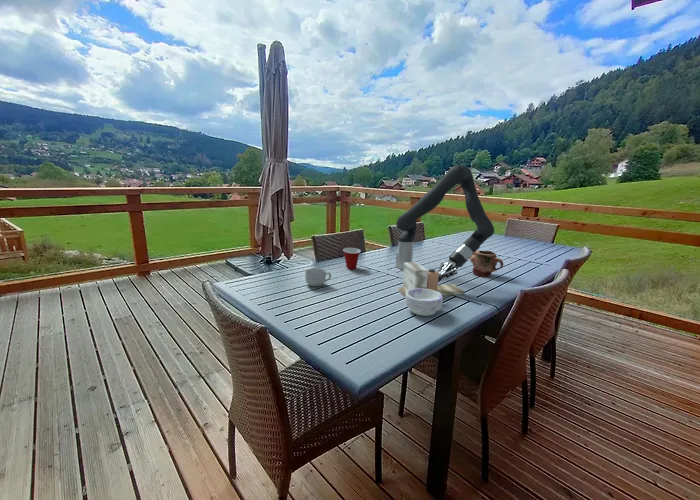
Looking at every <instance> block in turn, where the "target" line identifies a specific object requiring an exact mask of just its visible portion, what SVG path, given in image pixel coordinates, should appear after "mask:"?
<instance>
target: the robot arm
mask: <svg viewBox="0 0 700 500" xmlns="http://www.w3.org/2000/svg"><path fill="white" fill-rule="evenodd" d="M457 185H459V186H460V188H461V189H462V191H463V194H464V198H465V199H464V200H465V207H466V210H467V213H468V215H469V217H470V220H471V221H472V222H473V223H474V224H475V225H476V227H477V228H476V229H475V230H474V231H473V233H472V234H471V235H470V236H469V237H468V238H467V239H466V240H465V241H463V243H462V244H460V245H459V246H458V247H457V248H456V249H455V250H454V251H453V252H452V253H451V254H450V255H449V256H448V260H447V261H446V262H445V263H444V262H440V265H439V268H438V273H439V277H438V283H440V282H441V281H442V280H443V279H444V278H448V279H449V278H450V277H453V276H455V275H457V274H458V271H457V270H458V269H459V268H462V267H463V266H464V265H465V264H466V263H467V262H468V261H469V260H470V258H471V256H472V255H473V254H474V253H475V252H476V251H478V250H480V247H481V245H482V244H484V243H485V242H486V241H487V240H488V239H490V238H491V237H492V236H493V235H494V234H495V228H494V225H493V223H492V221H491V219H490V218H489V217H488V216H487V215H486V212H485V210H484V207H483V205H482V203H481V200H480V197H479V195H478V192H477V189H476V188H477V187H476V185H475V181H474V176H473V173H472V170H471V169H470V167H468V166H466V165H462V164H461V165H460V164H457V165H454V166H452V167H451V168H449V169H448V170H447V172H446V173H445V174H444V176H442V178H441V179H440V180H439V181H438V182H437V183H436V184H435V185H433V186H432V187H431V189H430V190H428V191H427V192H426V193H424V195H423V196H422V197H421V198H420V199H419V200H418V201H416V202H415V203H414V204H413V205H412V206H411V207H409V209H408V210H407V211H405V212H404V213H403V214H401V215H400V216H398V218H397V220H396V228H397V229H398V230H399V231H402V233H400V235H399V236H398V241H397V242H398V243H397V252H396V254H395V255H396V256H395V268H397V269H398V270H403V271H404V262H413V255H414V241H415V238H416V235H417V234H416V231H417V220H418V219H419V218H421V217H423V216H424V215H427V214H428V213H430V212H432V210H434V209H436V208H437V206H439V205H441V202H442V201H443V200H444V198H445V196H446V194H447V193H448V192H449V191H450V190H451V189H452V188H454V187H455V186H457Z"/></svg>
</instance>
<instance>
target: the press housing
mask: <svg viewBox="0 0 700 500" xmlns="http://www.w3.org/2000/svg"><path fill="white" fill-rule="evenodd" d="M428 270H429V269H427V268H426V267H424V266H423V265H421V264H419V263H418V262H416V261H412V262H404V270H403V276H402V287H398V292H399V293H400V294H401V295H402V296H403V297H404V298H405V296H406V292H407V291H408V290H411V289H419V288H422V289H427V277H428ZM437 292H439V293H441V294H442V295H443V296H455V294H456V295H464V294H465V290H463V289H462V288H460V287H458V286H457V285H455V284H454V283H451V284H448V283H447V284H438V289H437Z"/></svg>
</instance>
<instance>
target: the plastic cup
mask: <svg viewBox="0 0 700 500" xmlns="http://www.w3.org/2000/svg"><path fill="white" fill-rule="evenodd" d="M342 250H343V254H344V260H345V266H346V269H347V268H348V269H347V270H350V269H353V270H356V269H357V265H358V262H359V261H358V260H359V256H360V253H361V249H359V248H355V247H345V248H343V249H342ZM355 268H356V269H355Z"/></svg>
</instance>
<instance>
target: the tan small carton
mask: <svg viewBox="0 0 700 500" xmlns="http://www.w3.org/2000/svg"><path fill="white" fill-rule="evenodd" d="M427 270H428V277H427V289H430V290H434V291H437V289H438V285H439V282H438V277H439V271H436V269H434V268H429V269H427Z"/></svg>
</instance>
